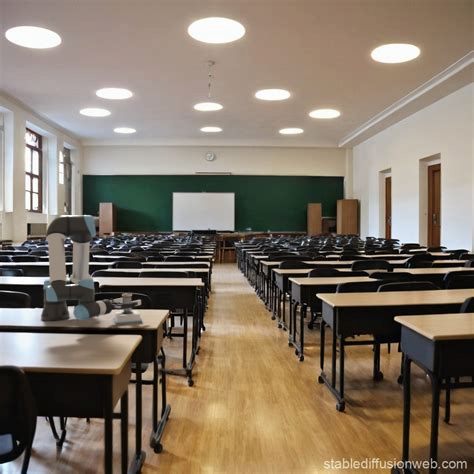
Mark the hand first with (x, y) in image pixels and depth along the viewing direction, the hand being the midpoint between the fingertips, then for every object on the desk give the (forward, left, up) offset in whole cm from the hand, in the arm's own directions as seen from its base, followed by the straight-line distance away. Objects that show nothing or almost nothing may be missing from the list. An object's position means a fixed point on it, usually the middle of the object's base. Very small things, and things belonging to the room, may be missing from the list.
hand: (131, 301), depth 244 cm
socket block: (+2, -2, -10) cm, 11 cm away
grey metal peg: (+2, -2, -9) cm, 10 cm away
